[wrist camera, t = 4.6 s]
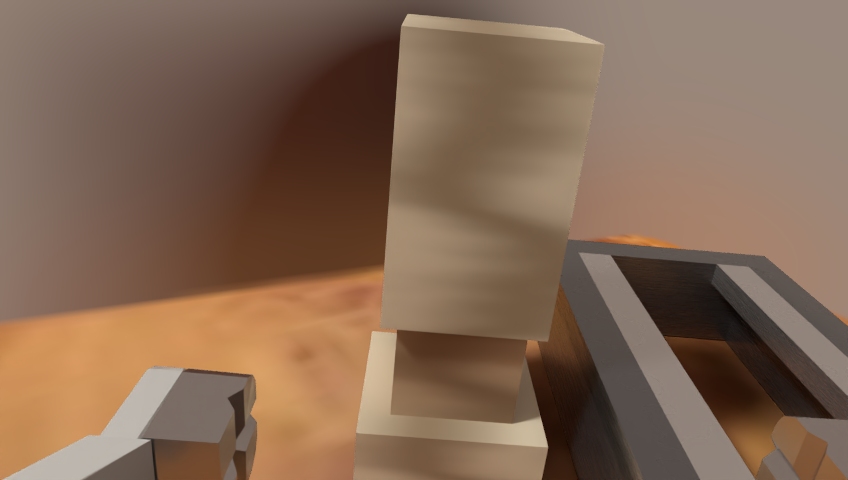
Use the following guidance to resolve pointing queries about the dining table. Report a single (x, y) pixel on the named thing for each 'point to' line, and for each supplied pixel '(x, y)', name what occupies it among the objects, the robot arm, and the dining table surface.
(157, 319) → the dining table surface
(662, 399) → the grey slotted frame
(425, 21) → the birch keyhole peg
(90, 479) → the robot arm
